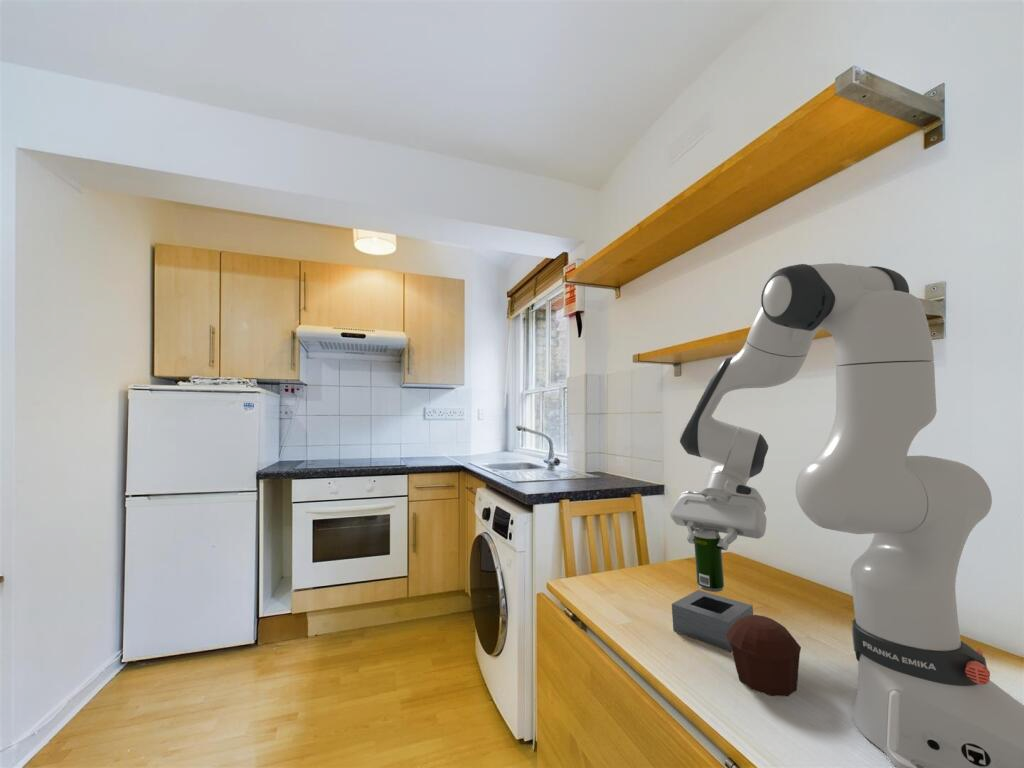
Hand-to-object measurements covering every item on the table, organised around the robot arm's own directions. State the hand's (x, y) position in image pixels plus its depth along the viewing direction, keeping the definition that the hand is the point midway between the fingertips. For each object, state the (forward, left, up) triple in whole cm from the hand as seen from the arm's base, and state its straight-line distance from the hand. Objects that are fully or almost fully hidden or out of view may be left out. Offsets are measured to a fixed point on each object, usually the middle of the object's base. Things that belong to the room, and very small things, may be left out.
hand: (706, 545), depth 91 cm
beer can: (0, -1, -9) cm, 9 cm away
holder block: (0, -1, -18) cm, 18 cm away
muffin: (-14, +10, -18) cm, 25 cm away
